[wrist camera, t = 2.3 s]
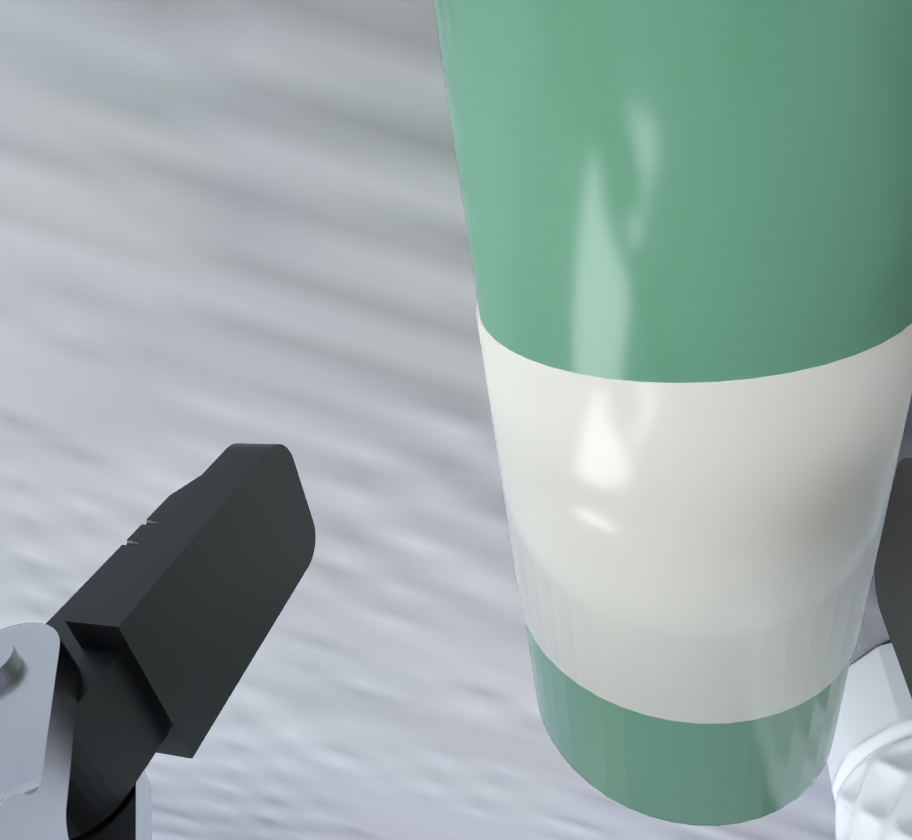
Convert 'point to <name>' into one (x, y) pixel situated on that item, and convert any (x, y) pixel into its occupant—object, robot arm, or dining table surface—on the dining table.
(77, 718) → the robot arm
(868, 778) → the white cup
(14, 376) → the dining table surface
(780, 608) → the green bottle
